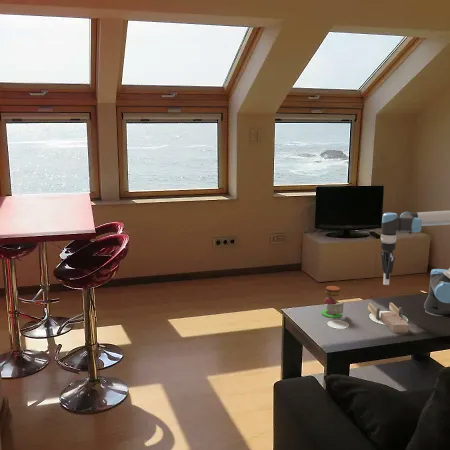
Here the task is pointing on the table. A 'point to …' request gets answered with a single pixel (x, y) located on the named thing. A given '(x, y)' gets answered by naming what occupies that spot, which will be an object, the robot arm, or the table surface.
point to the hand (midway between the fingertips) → (386, 284)
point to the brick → (394, 322)
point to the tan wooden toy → (376, 312)
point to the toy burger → (332, 303)
